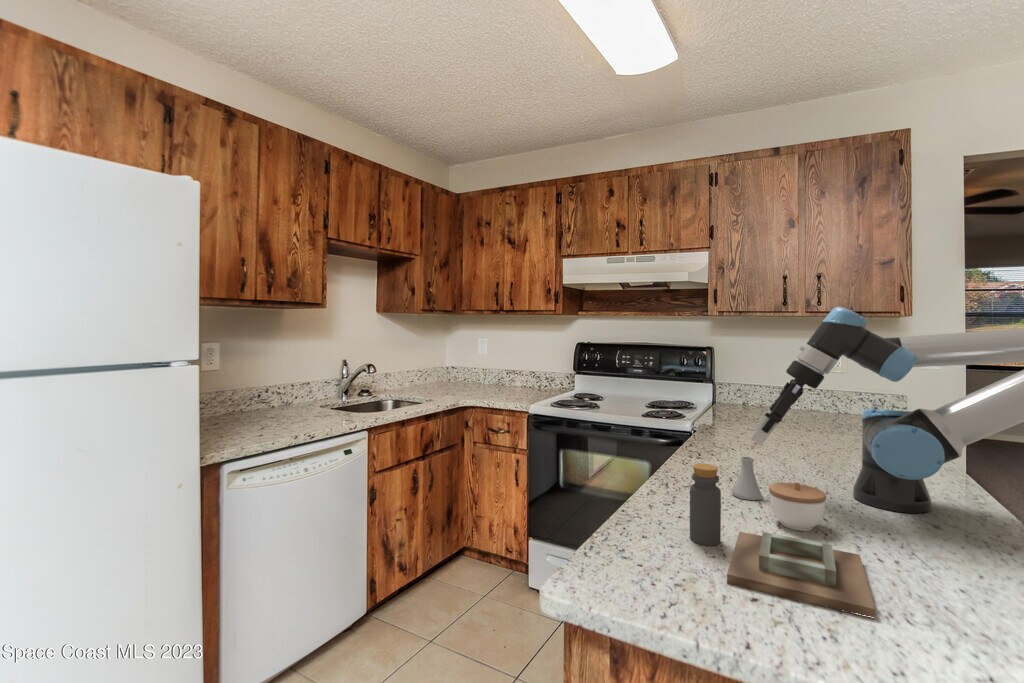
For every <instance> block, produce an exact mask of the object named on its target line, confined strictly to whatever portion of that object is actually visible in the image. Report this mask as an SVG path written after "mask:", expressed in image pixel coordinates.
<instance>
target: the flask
mask: <svg viewBox="0 0 1024 683" xmlns="http://www.w3.org/2000/svg"><path fill="white" fill-rule="evenodd" d="M740 460H741V466H740V471H739V473H738V474H739V475H738V477H737V479H736V482H735V484H734V486H733V489H732V492H731V494H732V496H734V497H736V498H738V499H740V500H748V501H750V500H751V501H758V500H760V501H761V500H763V495H762V493H761V490H760V487H759V484H758V481H757V478H756V475H755V473H754V468H753V467H754V461H755V458H754V457H752V456H744V455H743V456H740Z"/></svg>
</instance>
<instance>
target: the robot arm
mask: <svg viewBox="0 0 1024 683" xmlns="http://www.w3.org/2000/svg"><path fill="white" fill-rule="evenodd" d="M867 323H868V320H867V318H865V317H863V316H862V315H860V314H858V313H857V312H855V311H853V310H850V309H849V308H845V307H842V306H836V307H834V308H832V309H831V310H830V312H829V313H828V314H827V315H826V316H825V318H824V319H823V320H822V322H821V323H820V325H819V326H818V327H817V328H816V330H815V331H814V333H813V334H812V335H811V336H810V338H809V340H808V341H807V342H806V344H805V345H804V346H800V347H799V350H800V352H799V353H798V354H797V356H796V358H797V360H795V359H794V360H793V361H792V362H791V363H790V365H789V366H788V367H787V369H786V370H785V373H786V374H788V375H789V376H791V377H792V378H793V379H790V381H789V382H786V383H785V385H784V386H783V388H782V390H780V391H781V392H780V393H779V396H778V397H777V398H776V400H774V402H773V403H771V405H770V407H769V409H768V410H767V412H766V413H765V414H764V415H763V416H762V418H761V419H760V421H759V422H758V423H757V424H756V426H755V427H754V429H753V431H755V432H754V433H753V434H752V436H751V437H750V440H751V441H753V442H755V443H756V444H758V445H759V446H762V445H764V442H765V441H766V440H767V439H768V437H770V435H771V434H772V432H774V429H775V428H776V427H777V426H778V425H779V424H780V422H782V421H783V418H784V417H785V415H786V414H787V412H788V411H789V410H790V408H791V407H792V406H793V405H794V404H796V402H797V400H798V399H799V398H800V397H802V395H803V394H804V388H803V387H804V386H805V385H806V386H808V387H809V388H812V389H814V390H815V389H818V387H819V386H820V385H821V384H822V382H823V381H824V380H825V376H824V375H829V374H830V372H831V371H832V370H833V369H834V367H835V366H836V364H838V362H839V360H840V358H841V357H842V356H844V357H845V358H847V359H849V360H851V361H853V362H855V363H857V364H858V366H861V367H862V368H864V369H868V370H870V371H872V372H873V373H875V374H876V375H878V376H879V377H881V378H885V379H887V380H888V381H891V382H894V383H896V382H897V383H898V382H899V381H901V380H903V379H904V378H906V376H907V375H908V373H910V371H911V370H912V369H913V368H925V367H928V368H929V367H947V366H948V367H951V366H970V365H971V366H972V365H973V366H974V365H998V364H999V365H1000V364H1017V363H1018V364H1019V363H1021V364H1022V363H1023V364H1024V327H1023V328H1011V329H1010V328H1009V329H997V330H996V329H994V330H981V331H966V332H954V333H953V332H952V333H938V334H937V333H936V334H924V335H909V336H908V335H907V336H898V337H883V336H880V335H878V334H876V333H873V332H871V331H870V330H868V329H867V328H866V326H867ZM861 422H862V436H861V437H862V438H861V439H862V442H861V443H862V444H861V445H862V446H861V447H862V449H861V452H862V456H861V460H862V461H861V469H860V471H859V473H858V476H857V478H856V480H855V483H854V485H853V489H852V490H853V493H852V494H853V495H852V496H853V498H854V499H855V500H857V501H858V502H861V503H863V504H865V505H868V506H870V507H874V508H877V509H882V510H886V511H891V512H897V513H905V514H907V513H908V514H923V513H922V512H925V513H928V512H927V511H929V512H931V511H932V498H931V496H930V493H929V490H928V488H927V486H926V485H927V484H926V483H925V480H924V479H928V478H930V477H932V476H934V475H935V474H937V473H938V471H940V470H941V468H942V466H944V464H946V463H949V462H950V461H954V460H956V459H958V458H961V457H962V455H963V451H964V448H965V447H966V446H968V445H971V444H973V443H975V442H978V441H981V440H983V439H986V438H987V437H990V436H993V435H995V434H997V433H1000V432H1002V431H1004V430H1007V429H1009V428H1012V427H1014V426H1017V425H1019V424H1022V423H1023V422H1024V369H1022V370H1019V371H1017V372H1015V373H1013V374H1010V375H1008V376H1006V377H1004V378H1002V379H1000V380H998V381H995V382H993V383H991V384H989V385H986V386H984V387H981V388H979V389H978V390H975V391H973V392H971V393H969V394H967V395H964V396H962V397H959V398H958V399H955V400H953V401H951V402H949V403H947V404H944V405H942V406H941V407H940V406H939V407H938V408H935V409H926V408H921V407H919V408H917V409H915V410H913V411H910V410H896V409H895V410H892V409H879V408H876V409H875V408H866V409H864V410H863V412H862V417H861Z"/></svg>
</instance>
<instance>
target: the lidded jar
mask: <svg viewBox="0 0 1024 683" xmlns="http://www.w3.org/2000/svg"><path fill="white" fill-rule="evenodd" d="M768 492H769V504H770V509H771V511H772V513H773V515H774V517H775V518H776V519H777V520H778V521H779V522H780V525H782V526H783V527H785V528H788V529H791V530H795V531H800V532H807V531H812V530H813V528H815V527H816V526H817V525H819V524H820V523H821V521H822V520H823V518H824V515H825V512H826V511H825V510H826V500H827V495H826V493H825V492H824V491H822V490H821V489H819V488H817V487H813V486H811V485H810V486H809V485H806V484H802V483H800V482H799V481H798V482H797V481H794V482H776V483H771V484H770V485H769V486H768Z"/></svg>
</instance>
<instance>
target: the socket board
mask: <svg viewBox="0 0 1024 683" xmlns="http://www.w3.org/2000/svg"><path fill="white" fill-rule="evenodd" d="M736 539H737V540H736V542H735V545H734V549H733V552H732V556H731V560H730V562H729V567H728V570H727V572H726V573H727V574H726V584H730V585H733V586H734V585H735V586H739V587H742V588H746V587H747V589H751V590H755V591H759V592H764V593H766V594H770V595H773V596H774V595H775V596H779V597H782V596H783V598H786V599H791V600H795V601H799V602H804V603H807V602H808V603H807V604H811V603H814V604H813V605H815V604H818V605H817V606H819V605H822V606H821V607H823V606H827V607H830V608H829V609H831V608H834V609H833V610H835V609H838V610H837V611H839V610H844V611H847V612H846V613H848V612H853V613H858V614H861V615H866V616H871V617H875V618H876V608H875V604H874V600H873V597H872V593H871V590H870V587H869V583H868V579H867V575H866V571H865V567H864V564H863V561H862V557H861V555H860V554H858V553H854V552H849V551H848V552H847V551H842V550H836V549H834V548H833V544H830V543H829V544H828V543H825V542H824V543H823V542H817V541H813V540H808V539H801V538H797V537H791V536H787V535H786V536H785V535H780V534H775V533H770V532H766V531H765V532H764V531H763V532H762V535H759V534H755V533H750V532H744V531H739V532H738V534H737V538H736ZM827 607H826V608H827Z"/></svg>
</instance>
